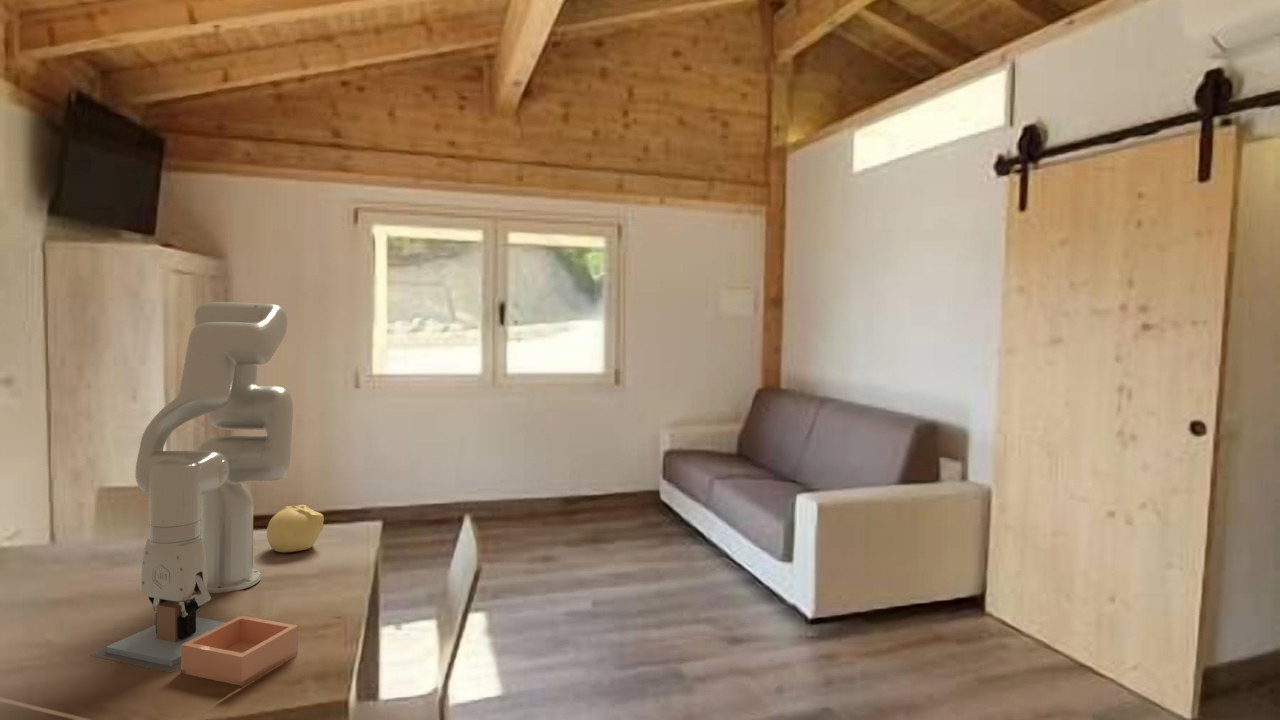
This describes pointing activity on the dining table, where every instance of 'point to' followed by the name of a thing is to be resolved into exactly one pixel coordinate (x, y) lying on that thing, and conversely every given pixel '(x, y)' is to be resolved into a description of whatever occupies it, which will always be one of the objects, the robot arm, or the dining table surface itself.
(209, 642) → the peach open tray
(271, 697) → the dining table surface
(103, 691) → the dining table surface
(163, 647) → the lid
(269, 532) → the sculpture
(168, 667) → the mat
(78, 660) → the dining table surface
